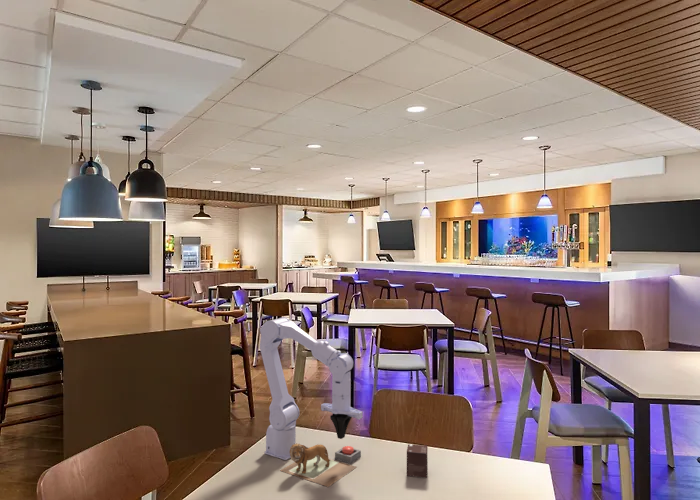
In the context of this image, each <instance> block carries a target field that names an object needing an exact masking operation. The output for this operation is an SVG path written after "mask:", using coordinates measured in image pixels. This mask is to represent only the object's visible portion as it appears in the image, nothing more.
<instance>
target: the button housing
mask: <svg viewBox="0 0 700 500" xmlns="http://www.w3.org/2000/svg"><path fill="white" fill-rule="evenodd" d="M361 457H362V451H361V450H360V449H357V448H354V453H353V454H352V455H346V454H343V453H342V448H340V449H338V450H336V451H335V452H334V459H335V460H336V461H339V462H343V463H346V464H353V463H354V462H355V461H357V460H358V459H360V458H361Z"/></svg>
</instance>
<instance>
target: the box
mask: <svg viewBox="0 0 700 500" xmlns="http://www.w3.org/2000/svg"><path fill="white" fill-rule="evenodd" d="M428 459H429V458H428V445H426V444H425V445H424V444H410V443H408V444H407V449H406V476H407V477H410V478H411V477H413V478H424V479H425V478H427V477H428V470H429V469H428V467H429V466H428V461H429V460H428Z"/></svg>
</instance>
